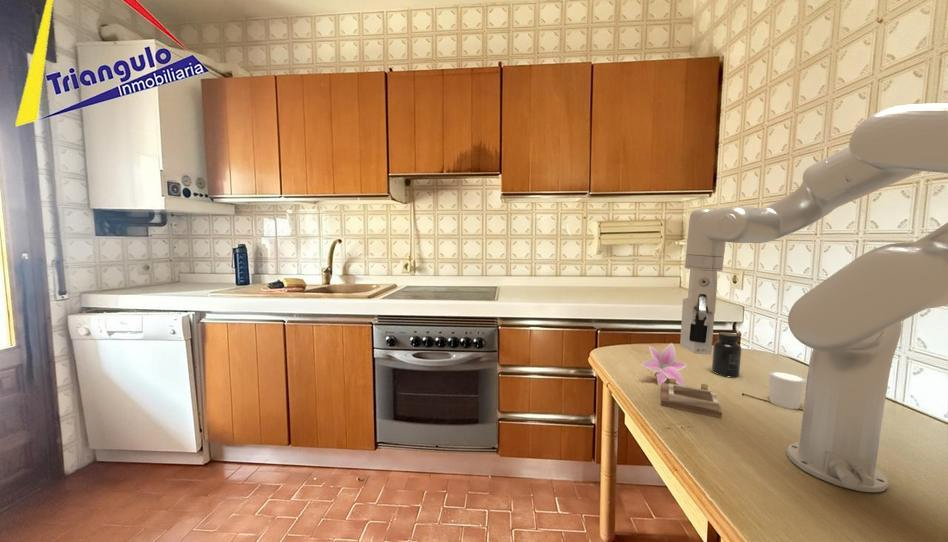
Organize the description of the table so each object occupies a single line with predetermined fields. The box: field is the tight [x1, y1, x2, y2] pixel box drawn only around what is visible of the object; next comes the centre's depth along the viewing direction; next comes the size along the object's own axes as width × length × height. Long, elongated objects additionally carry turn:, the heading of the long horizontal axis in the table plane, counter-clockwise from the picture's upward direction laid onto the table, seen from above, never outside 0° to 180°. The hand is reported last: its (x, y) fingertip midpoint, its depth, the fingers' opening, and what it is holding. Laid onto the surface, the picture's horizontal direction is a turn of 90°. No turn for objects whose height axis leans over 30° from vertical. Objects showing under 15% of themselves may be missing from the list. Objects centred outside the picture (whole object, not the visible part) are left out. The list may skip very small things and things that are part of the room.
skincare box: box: [679, 297, 715, 355], centre depth 87 cm, size 6×4×12 cm
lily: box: [641, 342, 688, 387], centre depth 103 cm, size 12×12×10 cm
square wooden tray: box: [660, 378, 723, 419], centre depth 90 cm, size 12×12×3 cm
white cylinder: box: [769, 371, 807, 410], centre depth 90 cm, size 7×7×7 cm
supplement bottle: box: [711, 331, 742, 378], centre depth 109 cm, size 7×7×12 cm
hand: (695, 337), depth 87 cm, fingers closed on skincare box, 7 cm apart
